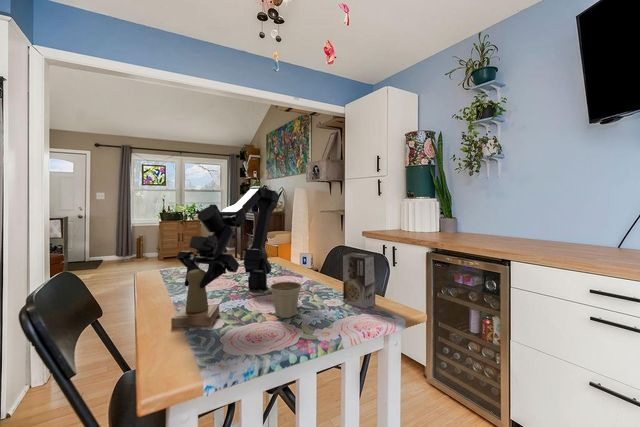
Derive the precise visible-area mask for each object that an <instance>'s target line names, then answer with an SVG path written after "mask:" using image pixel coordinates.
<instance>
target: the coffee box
mask: <svg viewBox="0 0 640 427" xmlns="http://www.w3.org/2000/svg"><path fill="white" fill-rule="evenodd" d="M342 262H343V263H342V269H343V270H342V276H343V277H342V283H343V284H342V285H343V286H342V288H343V290H342V295H343V298H342V300H343V301H342V302H343V303H345V304H347V305H352V306H355V307H359V308H362V309H367V308H369V307H371V306H374V305H376V255H374V254H365V253H358V252H351V253H348V254H343V255H342Z"/></svg>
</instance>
